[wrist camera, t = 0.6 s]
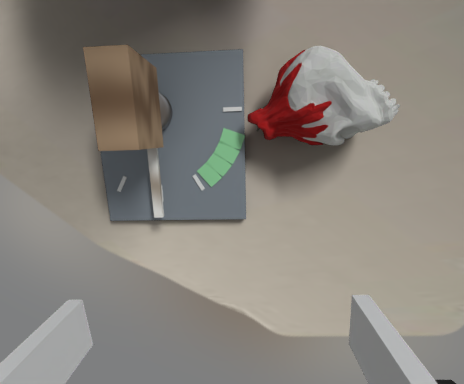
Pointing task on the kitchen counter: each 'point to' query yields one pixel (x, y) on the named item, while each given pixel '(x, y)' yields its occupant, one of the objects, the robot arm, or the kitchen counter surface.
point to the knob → (128, 107)
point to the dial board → (188, 144)
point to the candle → (323, 100)
